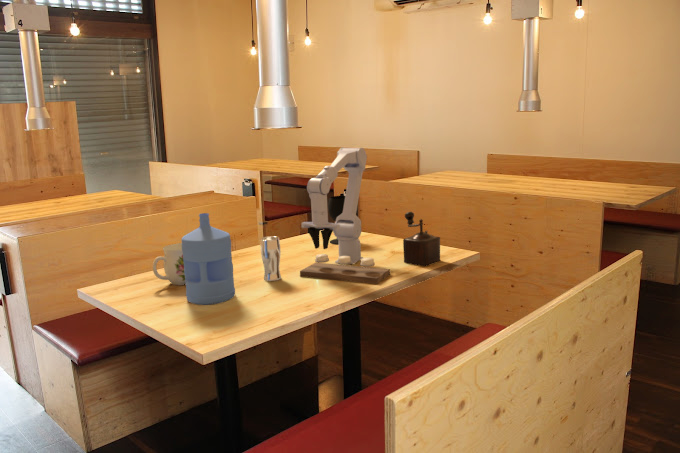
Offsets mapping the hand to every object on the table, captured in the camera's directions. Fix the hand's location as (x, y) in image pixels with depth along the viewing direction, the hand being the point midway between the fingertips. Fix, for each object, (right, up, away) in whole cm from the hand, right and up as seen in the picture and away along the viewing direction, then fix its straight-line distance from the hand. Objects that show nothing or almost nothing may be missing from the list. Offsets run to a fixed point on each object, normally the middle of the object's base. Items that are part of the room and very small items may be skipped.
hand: (321, 248), depth 223 cm
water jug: (-35, -16, -21) cm, 44 cm away
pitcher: (-51, -13, -3) cm, 53 cm away
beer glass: (-17, -11, -3) cm, 21 cm away
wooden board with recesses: (+9, -10, -2) cm, 13 cm away
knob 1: (0, -5, +1) cm, 5 cm away
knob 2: (+8, -5, -3) cm, 10 cm away
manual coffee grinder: (+36, -5, +14) cm, 39 cm away
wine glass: (+7, +1, +50) cm, 50 cm away
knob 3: (+16, -6, -7) cm, 19 cm away
